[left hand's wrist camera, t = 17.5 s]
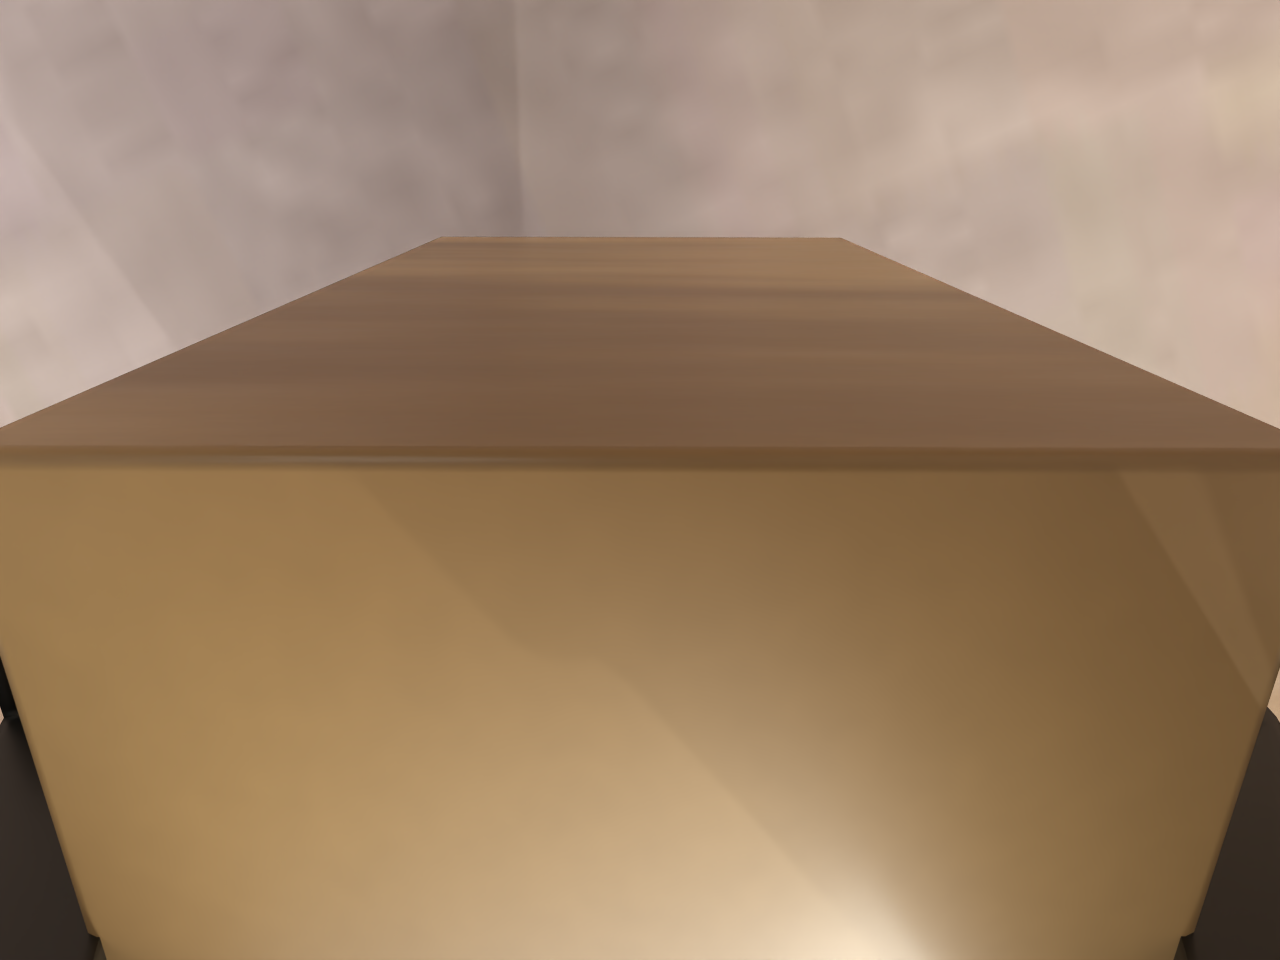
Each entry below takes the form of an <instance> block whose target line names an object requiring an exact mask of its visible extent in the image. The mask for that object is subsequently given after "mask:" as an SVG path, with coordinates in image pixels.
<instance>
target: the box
mask: <svg viewBox="0 0 1280 960" xmlns="http://www.w3.org/2000/svg"><path fill="white" fill-rule="evenodd" d="M0 657H1V660H2V663H3V666H4V669H5V672H6V676H7V679H8V682H9V685H10V688H11V691H12V695H13V698H14V701H15V704H16V707H17V710H18V713H19V717H20V720H21V723H22V726H23V729H24V732H25V736H26V739H27V742H28V745H29V748H30V751H31V754H32V758H33V761H34V764H35V767H36V770H37V773H38V777H39V780H40V783H41V786H42V789H43V792H44V796H45V799H46V802H47V805H48V808H49V811H50V814H51V818H52V821H53V824H54V827H55V830H56V833H57V837H58V840H59V843H60V846H61V849H62V852H63V855H64V859H65V862H66V865H67V868H68V871H69V874H70V878H71V881H72V884H73V887H74V890H75V893H76V897H77V900H78V903H79V906H80V909H81V912H82V915H83V919H84V922H85V925H86V928H87V931H88V933H89V934H91V935H94V936H96V937H100V940H101V943H102V946H103V949H104V952H105V956H106V959H107V960H1174V957H1175V953H1176V950H1177V947H1178V944H1179V941H1180V938H1181V936H1187V935H1189V934H1191V933H1193V932H1194V931H1195V928H1196V924H1197V921H1198V918H1199V915H1200V912H1201V909H1202V906H1203V903H1204V900H1205V897H1206V894H1207V890H1208V887H1209V884H1210V881H1211V878H1212V875H1213V872H1214V869H1215V866H1216V863H1217V860H1218V857H1219V853H1220V850H1221V847H1222V844H1223V841H1224V838H1225V835H1226V832H1227V829H1228V826H1229V823H1230V820H1231V816H1232V813H1233V810H1234V807H1235V804H1236V801H1237V798H1238V795H1239V792H1240V789H1241V786H1242V782H1243V779H1244V776H1245V773H1246V770H1247V767H1248V764H1249V761H1250V758H1251V755H1252V752H1253V749H1254V745H1255V742H1256V739H1257V736H1258V733H1259V730H1260V727H1261V724H1262V721H1263V718H1264V715H1265V711H1266V708H1267V705H1268V702H1269V699H1270V696H1271V693H1272V690H1273V687H1274V684H1275V681H1276V678H1277V674H1278V671H1279V668H1280V429H1278V428H1276V427H1274V426H1271V425H1269V424H1267V423H1264V422H1262V421H1260V420H1258V419H1255V418H1253V417H1251V416H1248V415H1246V414H1244V413H1242V412H1239V411H1237V410H1235V409H1232V408H1230V407H1228V406H1225V405H1223V404H1221V403H1219V402H1216V401H1214V400H1212V399H1209V398H1207V397H1205V396H1203V395H1200V394H1198V393H1196V392H1193V391H1191V390H1189V389H1186V388H1184V387H1182V386H1180V385H1177V384H1175V383H1173V382H1170V381H1168V380H1166V379H1164V378H1161V377H1159V376H1157V375H1154V374H1152V373H1150V372H1147V371H1145V370H1143V369H1141V368H1138V367H1136V366H1134V365H1131V364H1129V363H1127V362H1125V361H1122V360H1120V359H1118V358H1115V357H1113V356H1111V355H1108V354H1106V353H1104V352H1102V351H1099V350H1097V349H1095V348H1092V347H1090V346H1088V345H1086V344H1083V343H1081V342H1079V341H1076V340H1074V339H1072V338H1069V337H1067V336H1065V335H1063V334H1060V333H1058V332H1056V331H1053V330H1051V329H1049V328H1047V327H1044V326H1042V325H1040V324H1037V323H1035V322H1033V321H1030V320H1028V319H1026V318H1024V317H1021V316H1019V315H1017V314H1014V313H1012V312H1010V311H1008V310H1005V309H1003V308H1001V307H998V306H996V305H994V304H991V303H989V302H987V301H985V300H982V299H980V298H978V297H975V296H973V295H971V294H968V293H966V292H964V291H962V290H959V289H957V288H955V287H952V286H950V285H948V284H946V283H943V282H941V281H939V280H936V279H934V278H932V277H929V276H927V275H925V274H923V273H920V272H918V271H916V270H913V269H911V268H909V267H907V266H904V265H902V264H900V263H897V262H895V261H893V260H890V259H888V258H886V257H884V256H881V255H879V254H877V253H874V252H872V251H870V250H868V249H865V248H863V247H861V246H858V245H856V244H854V243H851V242H849V241H847V240H845V239H842V238H714V237H440V238H437V239H435V240H433V241H431V242H428V243H426V244H424V245H421V246H419V247H417V248H414V249H412V250H410V251H407V252H405V253H403V254H401V255H398V256H396V257H394V258H391V259H389V260H387V261H384V262H382V263H380V264H377V265H375V266H373V267H371V268H368V269H366V270H364V271H361V272H359V273H357V274H354V275H352V276H350V277H347V278H345V279H343V280H341V281H338V282H336V283H334V284H331V285H329V286H327V287H324V288H322V289H320V290H317V291H315V292H313V293H310V294H308V295H306V296H304V297H301V298H299V299H297V300H294V301H292V302H290V303H287V304H285V305H283V306H280V307H278V308H276V309H274V310H271V311H269V312H267V313H264V314H262V315H260V316H257V317H255V318H253V319H250V320H248V321H246V322H244V323H241V324H239V325H237V326H234V327H232V328H230V329H227V330H225V331H223V332H220V333H218V334H216V335H214V336H211V337H209V338H207V339H204V340H202V341H200V342H197V343H195V344H193V345H190V346H188V347H186V348H184V349H181V350H179V351H177V352H174V353H172V354H170V355H167V356H165V357H163V358H160V359H158V360H156V361H153V362H151V363H149V364H147V365H144V366H142V367H140V368H137V369H135V370H133V371H130V372H128V373H126V374H123V375H121V376H119V377H117V378H114V379H112V380H110V381H107V382H105V383H103V384H100V385H98V386H96V387H93V388H91V389H89V390H87V391H84V392H82V393H80V394H77V395H75V396H73V397H70V398H68V399H66V400H63V401H61V402H59V403H57V404H54V405H52V406H50V407H47V408H45V409H43V410H40V411H38V412H36V413H33V414H31V415H29V416H27V417H24V418H22V419H20V420H17V421H15V422H13V423H10V424H8V425H6V426H3V427H1V428H0Z"/></svg>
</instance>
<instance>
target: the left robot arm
mask: <svg viewBox="0 0 1280 960" xmlns="http://www.w3.org/2000/svg"><path fill="white" fill-rule="evenodd" d="M0 707H1V710H2V713H3V716H4V719H3V721H2V722H1V724H0V960H107V959H106V956H105V952H104V949H103V946H102V943H101V940H100V937H96V936H94V935H91V934H89V933H88V931H87V928H86V925H85V922H84V919H83V915H82V912H81V909H80V906H79V903H78V900H77V897H76V893H75V890H74V887H73V884H72V881H71V878H70V874H69V871H68V868H67V865H66V862H65V859H64V855H63V852H62V849H61V846H60V843H59V840H58V837H57V833H56V830H55V827H54V824H53V821H52V818H51V814H50V811H49V808H48V805H47V802H46V799H45V796H44V792H43V789H42V786H41V783H40V780H39V777H38V773H37V770H36V767H35V764H34V761H33V758H32V754H31V751H30V748H29V745H28V742H27V739H26V736H25V732H24V729H23V726H22V723H21V720H20V717H19V713H18V710H17V707H16V704H15V701H14V698H13V695H12V691H11V688H10V685H9V682H8V679H7V676H6V672H5V669H4V666H3V663H2V660H1V657H0ZM1174 960H1280V722H1279V721H1278V719H1277V717H1276V716H1275V715H1274V714H1273V713H1272V711H1271V710H1270V709H1269V708H1268V707H1267V708H1266V711H1265V715H1264V718H1263V721H1262V724H1261V727H1260V730H1259V733H1258V736H1257V739H1256V742H1255V745H1254V749H1253V752H1252V755H1251V758H1250V761H1249V764H1248V767H1247V770H1246V773H1245V776H1244V779H1243V782H1242V786H1241V789H1240V792H1239V795H1238V798H1237V801H1236V804H1235V807H1234V810H1233V813H1232V816H1231V820H1230V823H1229V826H1228V829H1227V832H1226V835H1225V838H1224V841H1223V844H1222V847H1221V850H1220V853H1219V857H1218V860H1217V863H1216V866H1215V869H1214V872H1213V875H1212V878H1211V881H1210V884H1209V887H1208V890H1207V894H1206V897H1205V900H1204V903H1203V906H1202V909H1201V912H1200V915H1199V918H1198V921H1197V924H1196V928H1195V931H1194V932H1193V933H1191V934H1189V935H1187V936H1181V938H1180V941H1179V944H1178V947H1177V950H1176V953H1175V957H1174Z"/></svg>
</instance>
